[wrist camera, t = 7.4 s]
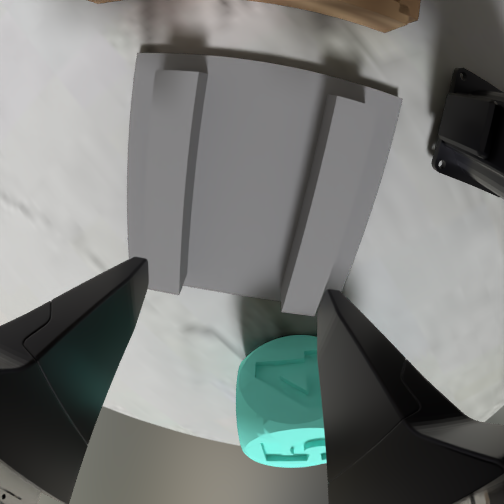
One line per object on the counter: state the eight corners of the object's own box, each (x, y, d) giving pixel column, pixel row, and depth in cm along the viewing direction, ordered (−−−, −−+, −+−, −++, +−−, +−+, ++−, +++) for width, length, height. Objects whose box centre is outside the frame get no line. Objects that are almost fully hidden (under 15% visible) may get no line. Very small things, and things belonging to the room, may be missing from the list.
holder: (398, 98, 14) (420, 101, 11) (333, 303, 21) (339, 331, 18) (141, 53, 13) (118, 50, 11) (133, 270, 20) (118, 295, 18)
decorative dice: (240, 337, 23) (231, 429, 16) (345, 327, 22) (366, 418, 15) (255, 394, 27) (250, 469, 20) (340, 386, 26) (351, 461, 19)
